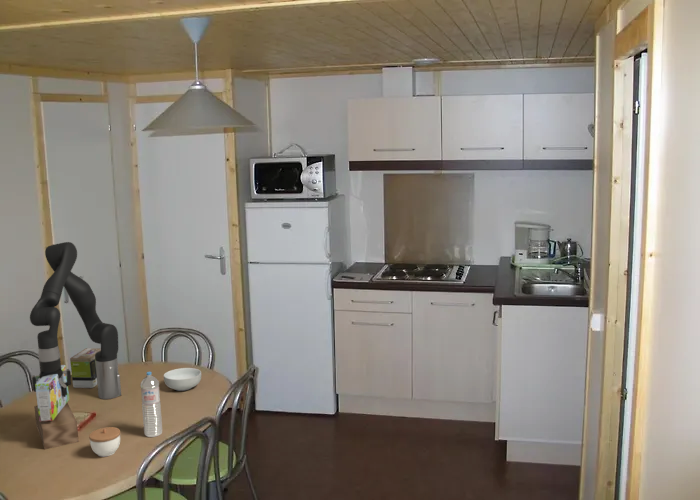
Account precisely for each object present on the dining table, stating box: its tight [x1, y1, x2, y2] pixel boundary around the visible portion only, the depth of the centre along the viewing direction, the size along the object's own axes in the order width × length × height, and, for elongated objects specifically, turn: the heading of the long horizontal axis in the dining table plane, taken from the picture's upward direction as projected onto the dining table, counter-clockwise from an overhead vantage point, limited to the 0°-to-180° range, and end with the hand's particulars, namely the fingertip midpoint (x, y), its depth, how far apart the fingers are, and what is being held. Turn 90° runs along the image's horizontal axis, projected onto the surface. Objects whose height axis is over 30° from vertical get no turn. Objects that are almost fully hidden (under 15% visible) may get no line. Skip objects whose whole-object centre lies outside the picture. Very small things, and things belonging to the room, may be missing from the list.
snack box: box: [35, 364, 70, 422], centre depth 269 cm, size 21×6×15 cm, turn 6°
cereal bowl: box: [163, 367, 202, 392], centre depth 317 cm, size 17×17×7 cm
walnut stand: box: [34, 402, 80, 450], centre depth 271 cm, size 12×26×8 cm, turn 30°
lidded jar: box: [88, 426, 121, 458], centre depth 253 cm, size 11×11×9 cm
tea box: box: [69, 347, 101, 389], centre depth 327 cm, size 15×10×15 cm, turn 172°
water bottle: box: [140, 371, 163, 438], centre depth 267 cm, size 7×7×25 cm
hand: (53, 398), depth 270 cm, fingers closed on snack box, 7 cm apart
